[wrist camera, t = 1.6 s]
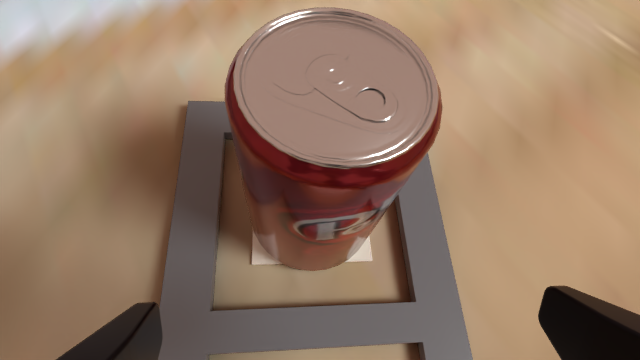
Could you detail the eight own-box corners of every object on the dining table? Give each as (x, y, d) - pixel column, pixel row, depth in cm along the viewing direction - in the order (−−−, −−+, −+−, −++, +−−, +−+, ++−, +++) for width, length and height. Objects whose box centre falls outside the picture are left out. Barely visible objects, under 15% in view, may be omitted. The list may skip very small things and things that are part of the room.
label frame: (519, 614, 15) (531, 627, 14) (115, 673, 13) (106, 691, 13) (413, 112, 27) (417, 105, 26) (190, 108, 25) (188, 101, 24)
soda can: (225, 213, 22) (170, 69, 11) (309, 143, 24) (330, -27, 14) (313, 301, 20) (350, 231, 9) (392, 214, 23) (491, 82, 12)
